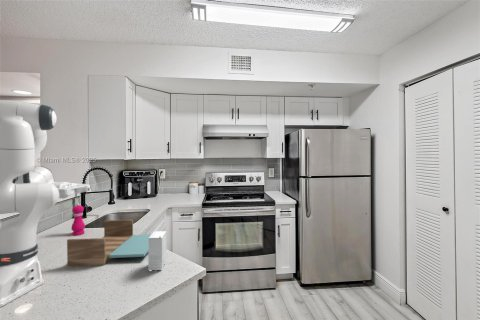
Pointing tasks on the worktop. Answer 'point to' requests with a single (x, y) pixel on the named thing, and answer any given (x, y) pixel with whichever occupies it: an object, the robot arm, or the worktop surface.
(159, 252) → the skincare box
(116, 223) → the box
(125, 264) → the worktop surface
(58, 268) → the worktop surface
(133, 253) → the tailgate
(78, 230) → the pepper mill
